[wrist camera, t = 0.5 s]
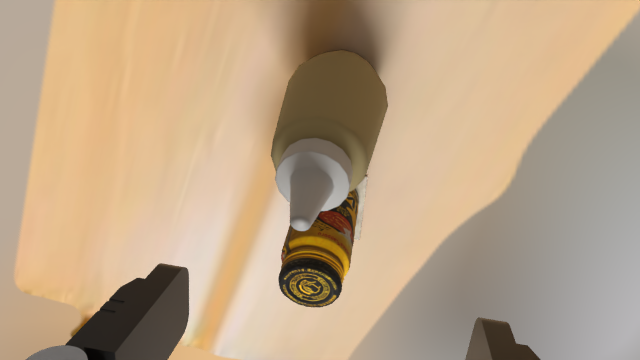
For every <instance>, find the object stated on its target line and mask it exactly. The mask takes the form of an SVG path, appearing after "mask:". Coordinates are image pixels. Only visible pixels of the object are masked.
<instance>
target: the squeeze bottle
mask: <svg viewBox="0 0 640 360" xmlns="http://www.w3.org/2000/svg"><path fill="white" fill-rule="evenodd" d="M387 107H388V103H387V96H386V89H385V86H384V84H383V83H382V81H381V79H380V78H379V76H378V75H377V73H376V71H375V70H374V69H373V67H372V66H371V65H370V64H369V63H368V61H366V60H365V59H364V58H362V57H361V56H359V55H358V54H357V53H353V52H349V51H345V50H337V51H330V52H326V53H323V54H320V55H317V56H315V57H313V58H311V59H310V60H308V61H306V62H305V63H303V64H301V65H300V66H299V67H298V68H297V70H296V71H295V73H294V74H293V76H292V77H291V79H290V80H289V82H288V86H287V90H286V93H285V97H284V101H283V105H282V108H281V112H280V116H279V120H278V123H277V127H276V131H275V135H274V138H273V144H272V151H271V157H272V160H273V163H274V166H275V170H276V178H275V180H276V183H277V186H278V189H279V191H280V193H281V194H282V195H283V196H284V197H285V199H286V200H287V201H288V202H290V224H291V226H292V227H293V228H294V229H296V230H298V231H306V230H308V229H309V228H310V227H311V225H312V224H313V222H314V221H315V219H316V217H317V216H318V214H319V213H320V211H328V210H330V209H333V208H335V207H337V206H339V205H340V204H341V203H342V202H343V201H344V200H345V199H346V198H347V196H348V193H349V192H350V191H352V190H354V189H355V188H356V187H357V186H358V185H359V184H360V183H361V182H362V181H363V179H364V178H365V175H366V172H367V169H368V166H369V163H370V160H371V157H372V154H373V151H374V148H375V145H376V142H377V138H378V135H379V132H380V129H381V126H382V123H383V120H384V117H385V113H386V110H387Z"/></svg>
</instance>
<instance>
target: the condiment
mask: <svg viewBox="0 0 640 360" xmlns="http://www.w3.org/2000/svg"><path fill="white" fill-rule="evenodd" d="M366 185H367V177H366V176H365V178H364V179H363V181H362V182H361V183H360V184H359V185H358V186H357V187H356V188H355V189H354V190H352V191H350V192H349V193H348V196H347V198H346V199H345V200H344V201H343V202H342V203H341V204H340V205H339V206H337V207H335V208H333V209H330V210H328V211H320V213H319V214H318V216H317V217H316V219H315V221H314V222H313V224H312V225H311V227H310V228H309V229H308V230H306V231H298V230H296V229H294V228H293V227H292V226H291V224H290V227H289V230H288V233H287V236H286V239H285V243H284V246H283V249H282V255H281V259H282V266H281V272H280V274H279V286H280V289H281V291H282V293H283V294H284V295H285V296H286V297H288V298H289V299H290V300H292V301H293V302H295V303H297V304H300V305H304V306H306V307H323V306H327V305H330V304H332V303H333V302H334V301H335V300H336V299H337V298H338V297H339V295H340V293H341V290H342V283H343V280H344V277H345V275H346V274H347V272H348V270H349V268H350V262H351V255H352V246H353V242H354V239H357V240H360V232H361V223H362V216H363V208H364V200H365V193H366Z"/></svg>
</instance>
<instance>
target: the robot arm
mask: <svg viewBox="0 0 640 360" xmlns="http://www.w3.org/2000/svg"><path fill="white" fill-rule="evenodd" d="M188 317H189V273H188V269H187V268H185V267H179V266H173V265H168V264H162V263H161V264H158V265H157V266H156V267H155V269H154V270H153V271H152V272H151V273H150V274H149V275H148V276H147V277H146V279H142V278H136V279H135V280H133V281H131V282H129V283H127V284H125V285H123V286H122V287H120V288H119V289H118V290H117V292H116V293H115V294H114V295H113V296H112V297H111V298H110V299H109V301H107V302H106V303H105V304H104V305H103V306H102V307H101V308H100V311H97V312H96V313H95V314H94V315H93V316H92V317H91V319H90V320H89V321H88V322H87V323H86V324H85V325H84V326H83V327H82V328H81V329H80V330H79V331H78V332H77V333H76V334H75V335H74V336H73V337H72V338H71V339H70V340H69V341H68V342H67V343H66V345H62V346H55V347H50V348H47V349H44V350H41V351H39V352H37V353H35V354H33V355H31V356H30V357H28V358H27V359H26V360H167V359H168V358H169V356H170V355H171V353H172V352H173V350H174V348H175V347H176V345H177V344H178V342H179V341H180V339H181V337H182V336H183V334H184V332H185V329H186V326H187V323H188ZM465 360H540V359H539V358H538V357H537V356H536V354H535V353H534V352H533V351H532V350H531V349H530V348H529V347H528V346H527V345H520V344H516V342H515V339H514V337H513V334H512V331H511V328H510V325H509V324H508V323H507V322H502V321H496V320H491V319H485V318H477V320H476V322H475V325H474V329H473V333H472V336H471V341H470V344H469V348H468V352H467V355H466V359H465Z"/></svg>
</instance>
